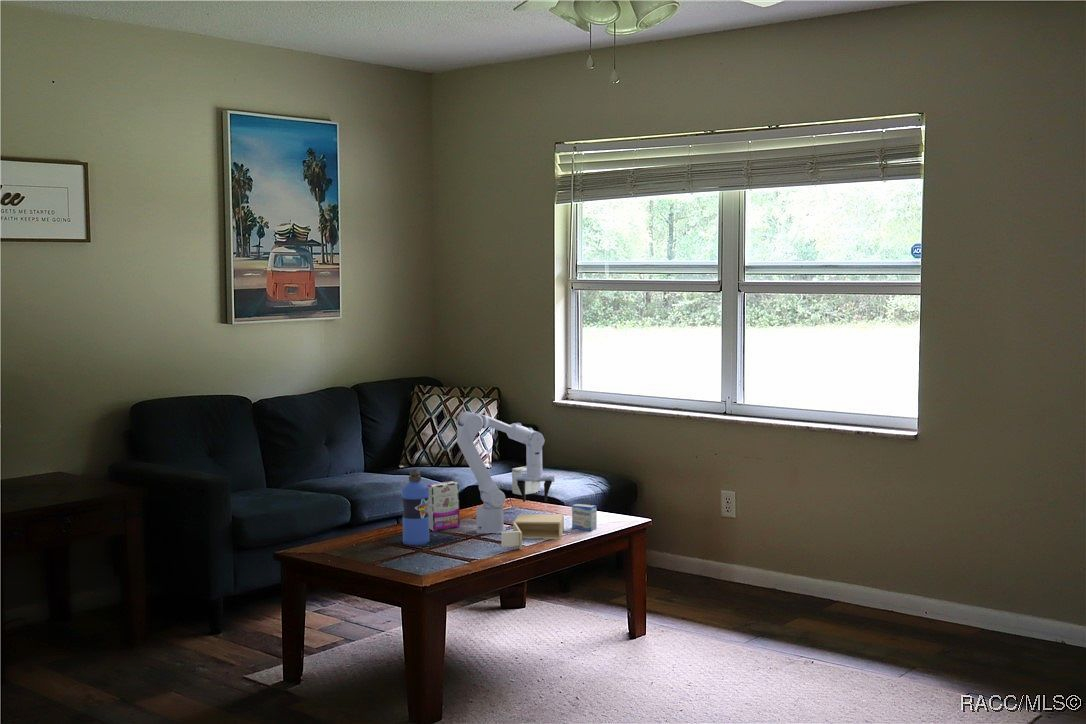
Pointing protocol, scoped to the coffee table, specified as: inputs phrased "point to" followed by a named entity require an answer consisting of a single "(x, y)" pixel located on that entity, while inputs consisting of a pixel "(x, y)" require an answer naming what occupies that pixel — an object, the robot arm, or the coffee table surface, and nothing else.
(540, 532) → the carton
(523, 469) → the light bulb box
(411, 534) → the water bottle
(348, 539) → the coffee table surface
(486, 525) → the robot arm
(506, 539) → the cream block
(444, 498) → the candy bar box
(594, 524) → the medicine box
